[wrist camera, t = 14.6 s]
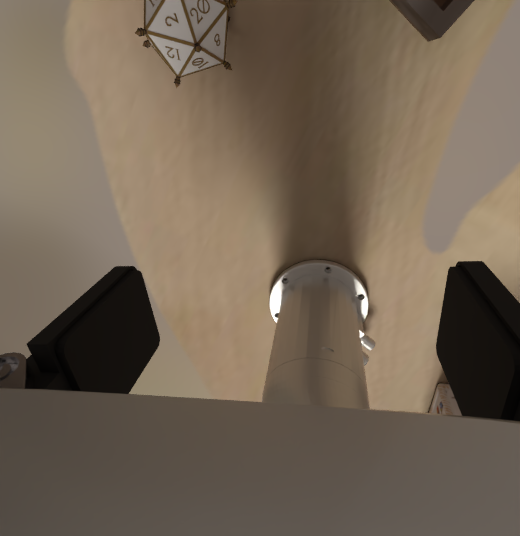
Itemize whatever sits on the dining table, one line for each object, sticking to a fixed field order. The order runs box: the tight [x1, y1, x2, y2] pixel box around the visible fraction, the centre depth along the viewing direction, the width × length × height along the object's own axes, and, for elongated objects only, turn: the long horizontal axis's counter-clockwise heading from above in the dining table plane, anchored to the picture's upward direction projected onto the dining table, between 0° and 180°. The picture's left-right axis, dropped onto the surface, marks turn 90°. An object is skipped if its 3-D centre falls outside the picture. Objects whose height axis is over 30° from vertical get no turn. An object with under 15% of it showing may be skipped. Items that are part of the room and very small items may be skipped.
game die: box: [135, 0, 237, 88], centre depth 30 cm, size 9×8×10 cm
